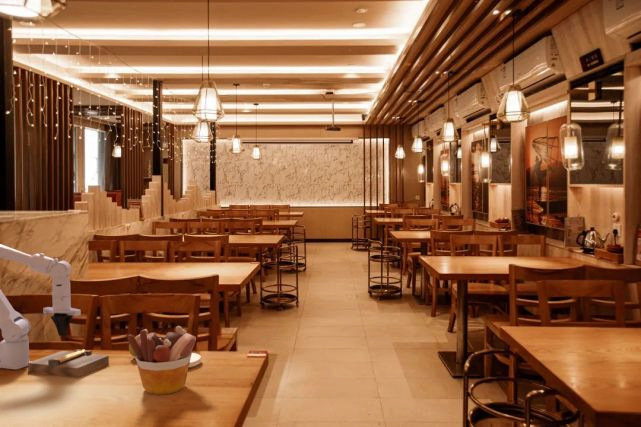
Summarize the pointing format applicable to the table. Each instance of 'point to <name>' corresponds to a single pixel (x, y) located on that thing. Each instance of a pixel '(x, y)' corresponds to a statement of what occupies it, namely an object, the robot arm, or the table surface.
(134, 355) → the lemon
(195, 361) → the plastic lid
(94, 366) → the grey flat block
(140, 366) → the bucket of meat
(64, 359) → the latch bar
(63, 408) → the table surface
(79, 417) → the table surface
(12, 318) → the robot arm
